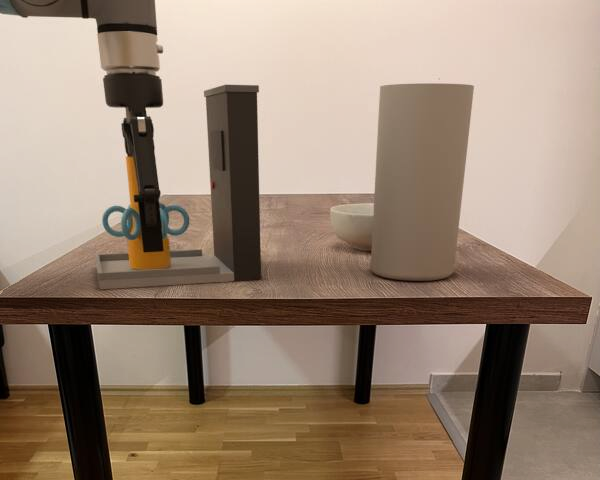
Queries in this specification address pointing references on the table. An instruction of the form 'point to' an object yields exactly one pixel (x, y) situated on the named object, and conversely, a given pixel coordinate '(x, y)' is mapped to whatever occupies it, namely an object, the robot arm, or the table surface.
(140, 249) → the cylinder
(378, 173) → the cylinder vase
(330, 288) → the table surface
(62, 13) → the robot arm
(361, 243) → the cereal bowl
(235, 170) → the grey l-shaped stand
